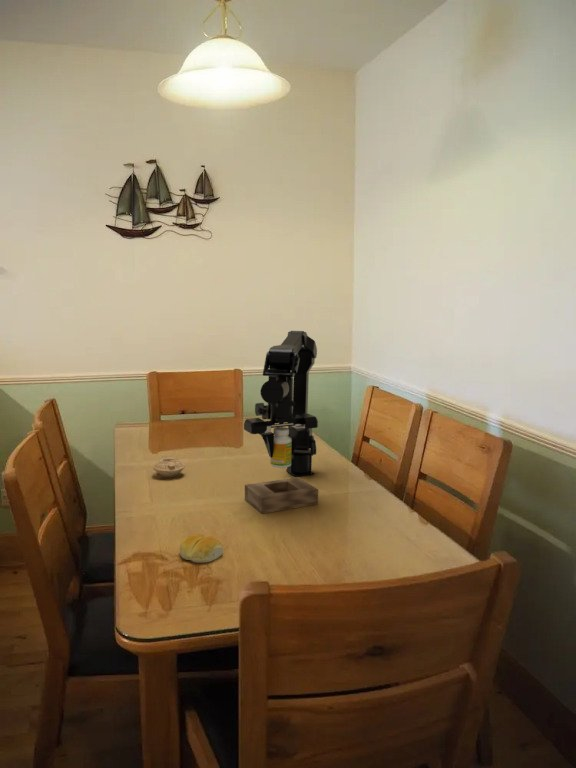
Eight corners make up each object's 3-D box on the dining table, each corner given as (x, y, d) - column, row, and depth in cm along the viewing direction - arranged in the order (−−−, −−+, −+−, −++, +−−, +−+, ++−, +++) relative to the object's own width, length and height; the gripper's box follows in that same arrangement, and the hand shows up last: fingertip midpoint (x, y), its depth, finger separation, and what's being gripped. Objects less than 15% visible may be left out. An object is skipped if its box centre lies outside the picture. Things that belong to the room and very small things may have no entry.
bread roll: (196, 543, 133) (196, 525, 132) (228, 553, 128) (228, 535, 127) (170, 556, 126) (169, 538, 125) (203, 568, 121) (203, 549, 120)
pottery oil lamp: (179, 465, 188) (187, 447, 185) (178, 489, 177) (187, 471, 175) (151, 457, 185) (159, 439, 182) (149, 481, 174) (158, 463, 172)
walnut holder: (298, 491, 166) (298, 477, 166) (317, 504, 157) (318, 489, 156) (244, 499, 159) (244, 484, 159) (261, 513, 150) (261, 498, 149)
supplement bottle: (288, 469, 153) (289, 431, 152) (268, 467, 154) (268, 430, 153) (293, 463, 159) (293, 427, 157) (273, 461, 160) (273, 425, 158)
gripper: (299, 389, 165) (298, 444, 167) (235, 393, 157) (236, 451, 159) (319, 396, 155) (318, 454, 157) (252, 401, 147) (252, 463, 149)
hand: (280, 455), depth 156 cm, fingers closed on supplement bottle, 5 cm apart
